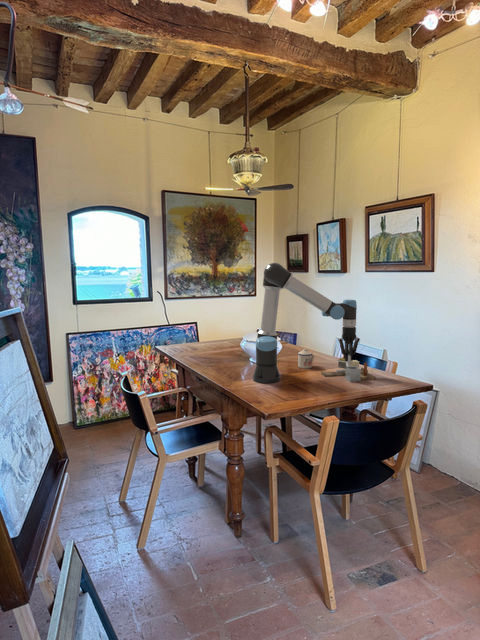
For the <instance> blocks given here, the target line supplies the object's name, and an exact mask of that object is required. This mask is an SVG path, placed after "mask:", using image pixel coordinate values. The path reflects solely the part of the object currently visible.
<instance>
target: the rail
mask: <svg viewBox="0 0 480 640" xmlns="http://www.w3.org/2000/svg"><path fill="white" fill-rule="evenodd" d="M360 369H361V374H362V373H364V367H360ZM367 373H369V371H368V369H367ZM320 374H321V375H322V376H323V377H325V378H327V377H341V376H342V377H343V376H344V377H345V372H336V371H323V372H321V371H320Z"/></svg>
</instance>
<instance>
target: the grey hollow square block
mask: <svg viewBox="0 0 480 640" xmlns="http://www.w3.org/2000/svg"><path fill="white" fill-rule="evenodd" d="M344 370H345V376H344V378H345V380H346V381H347V380H348V382H349V383H353V382H354V383H357V382H356V381H359V382H361V379H360V376H361V367H359V368H358V367H356V366H351V367H345V368H344Z"/></svg>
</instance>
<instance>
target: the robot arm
mask: <svg viewBox="0 0 480 640" xmlns="http://www.w3.org/2000/svg"><path fill="white" fill-rule="evenodd" d="M262 287H263V289H264V295H263V296H264V297H263V306H262V313H261V323H260V330H259V331H257V337H256V340H255V368H254V370H253V375H252V380H253V382H256V383H261V384H272V383H278V382H279V381H280V380H281V375H280V371H279V369H278V333H277V332H276V327H277V320H278V310H279V300H280V294H281V293H280V291H281V290H283V289H285V290H287V291H289V292H290V293H292V294H293V295H295V296H297V297H299V298H300V299H302V300H303V301H305V302H306V303H308V304H310V305H312V306H313V307H314V308H316V309H318V310H319V311H320V312H321V316H323V317H330V318H331V319H333V320H341V319H342V328H341V329H342V330H341V331H342V332H341V333H342V335H341V337H340V338H337V341H338V342H339V347H340V351H341V355H343V356H344V358H345V361H346V366H347V367H351V361H352V360H353V356H354V355H356V353H357V348H358V346H359V343H360V341H361V338H359V337H358V336H357V327H356V326H357V309H358V307H357V300H356V299H343V301H342V302H340V303H337V302H334V301H332V300H331V299H329V298H328V297H326V296H325V295H323V294H321V293H320V292H318V291H317V290H315V289H314V288H312V287H311V286H309V285H307V284H305V283H304V282H302V281H301V280H299V279H298V278H296V277H294V276H293V273H292V272H291V271H288V270H287V269H286V268H285V267H284V266H283V265H282V264H281V263H278V262H272V263H269V264H267V265H266V267H265V268H264V271H263V279H262Z"/></svg>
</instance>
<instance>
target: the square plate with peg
mask: <svg viewBox="0 0 480 640" xmlns="http://www.w3.org/2000/svg"><path fill="white" fill-rule="evenodd" d="M363 368H364V373H362V374H361V376H360V381H371V380H372V381H373V380H376V379H377V378H376V376H374V375H373V374H371V373H370V372H368V373H367V370H368V362H364V363H363Z"/></svg>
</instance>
